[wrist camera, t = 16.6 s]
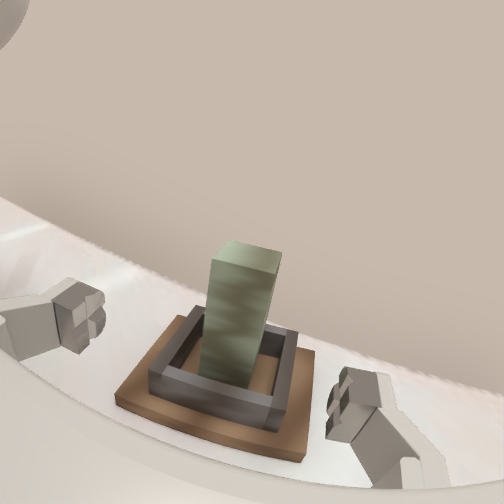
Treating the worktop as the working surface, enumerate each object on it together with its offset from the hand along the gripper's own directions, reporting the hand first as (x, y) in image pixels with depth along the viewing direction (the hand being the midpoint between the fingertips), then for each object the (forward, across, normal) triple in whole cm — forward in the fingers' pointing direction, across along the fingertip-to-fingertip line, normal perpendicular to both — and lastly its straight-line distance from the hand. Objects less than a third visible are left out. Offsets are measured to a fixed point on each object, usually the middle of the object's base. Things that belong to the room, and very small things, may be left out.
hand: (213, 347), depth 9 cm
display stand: (+14, +1, +16) cm, 21 cm away
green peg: (+14, +1, +14) cm, 20 cm away
